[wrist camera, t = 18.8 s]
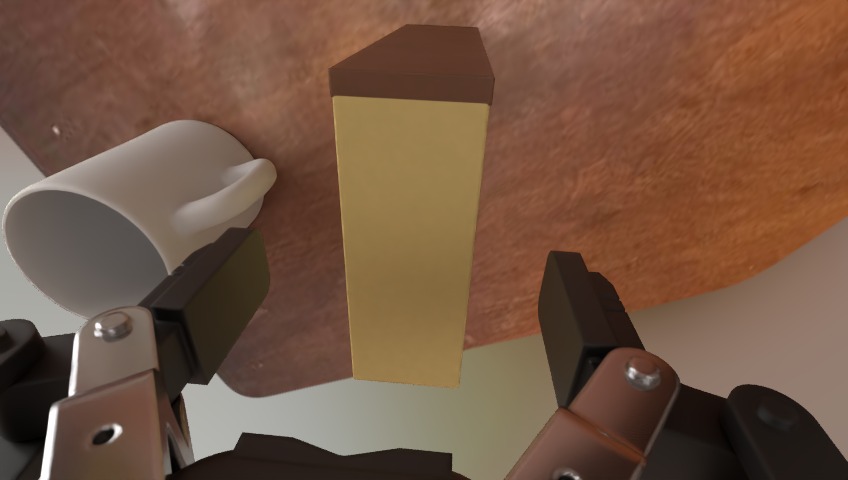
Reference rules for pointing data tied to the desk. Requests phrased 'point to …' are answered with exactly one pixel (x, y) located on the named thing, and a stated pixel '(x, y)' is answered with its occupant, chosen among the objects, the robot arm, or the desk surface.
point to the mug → (132, 214)
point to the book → (411, 197)
